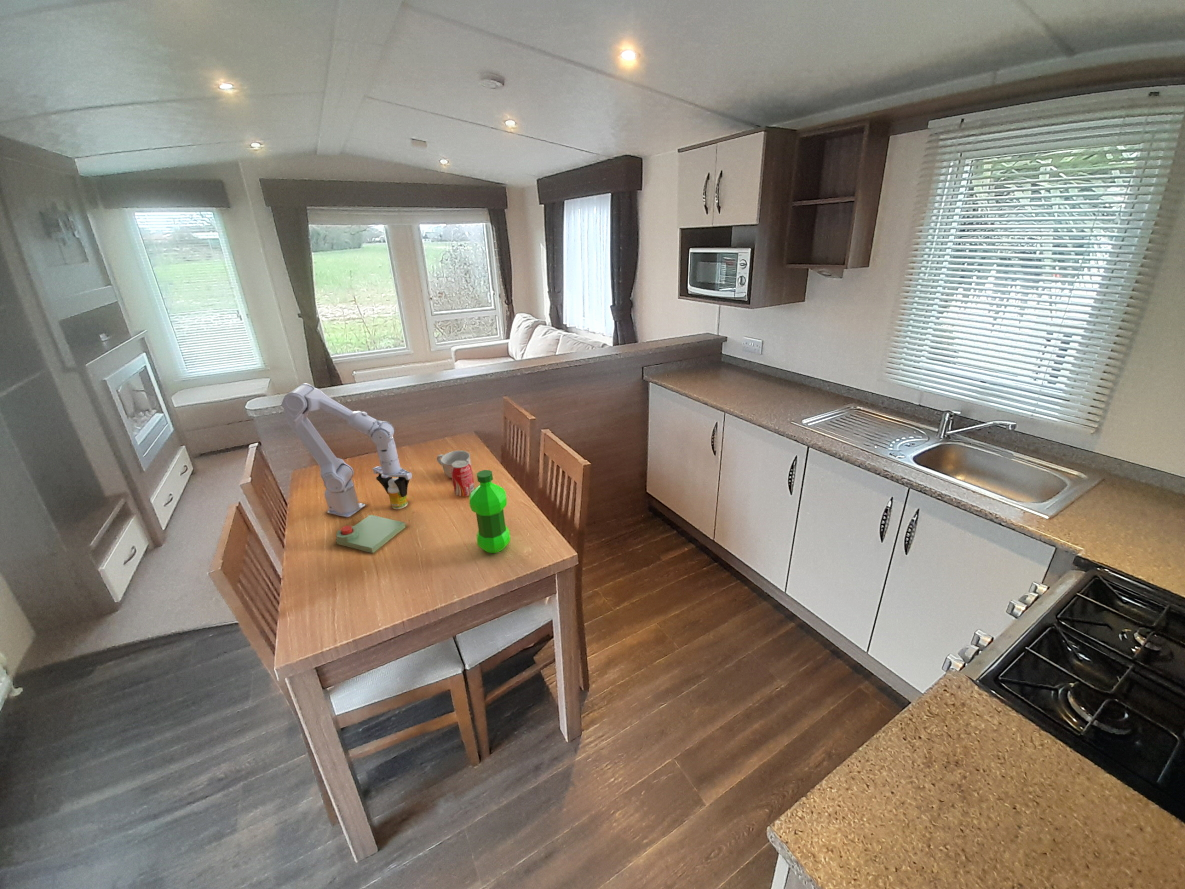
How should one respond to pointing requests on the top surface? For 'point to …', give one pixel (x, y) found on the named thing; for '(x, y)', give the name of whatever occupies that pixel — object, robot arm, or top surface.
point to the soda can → (462, 478)
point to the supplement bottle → (396, 495)
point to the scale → (370, 533)
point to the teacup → (452, 460)
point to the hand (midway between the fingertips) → (397, 494)
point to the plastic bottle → (490, 513)
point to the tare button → (346, 530)
